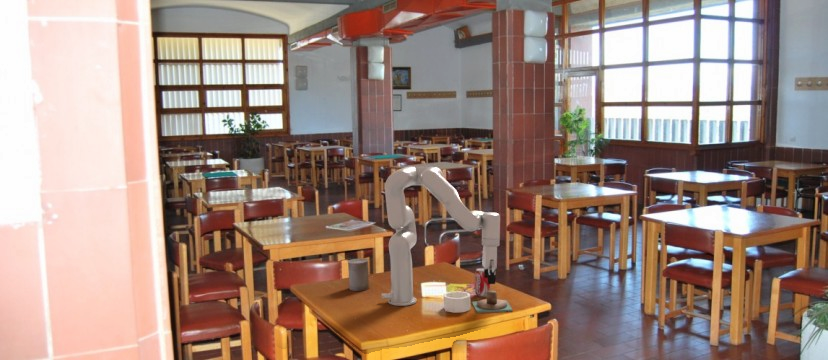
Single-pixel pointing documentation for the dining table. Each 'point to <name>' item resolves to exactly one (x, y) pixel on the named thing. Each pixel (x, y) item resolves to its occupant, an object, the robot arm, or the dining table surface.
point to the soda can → (481, 283)
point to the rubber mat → (490, 310)
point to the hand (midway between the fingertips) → (489, 280)
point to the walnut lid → (491, 302)
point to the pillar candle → (358, 274)
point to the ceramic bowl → (457, 301)
